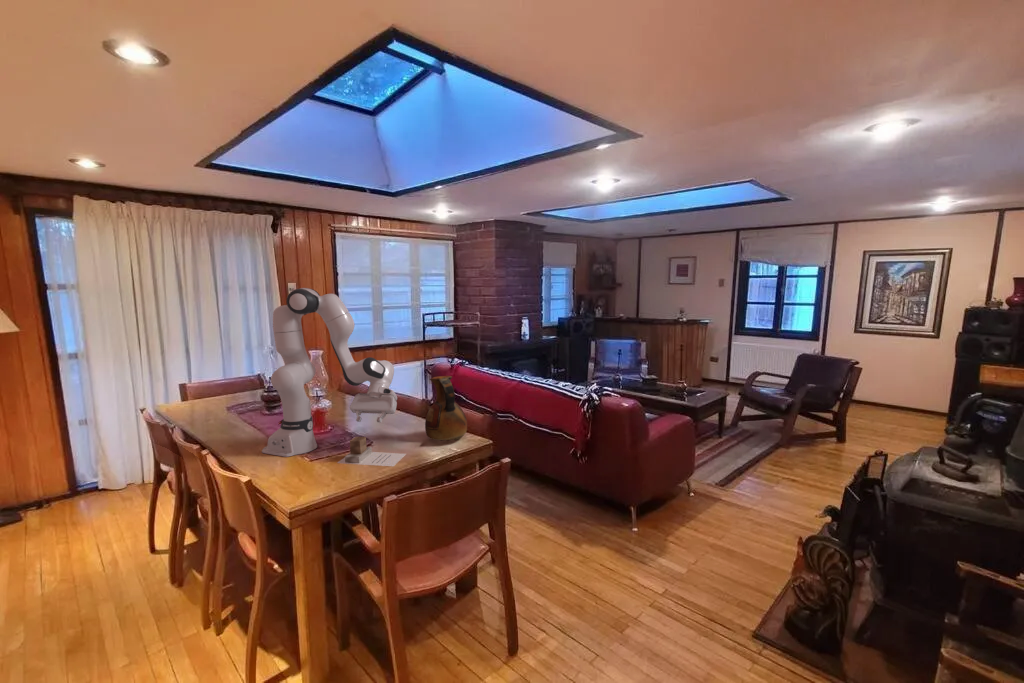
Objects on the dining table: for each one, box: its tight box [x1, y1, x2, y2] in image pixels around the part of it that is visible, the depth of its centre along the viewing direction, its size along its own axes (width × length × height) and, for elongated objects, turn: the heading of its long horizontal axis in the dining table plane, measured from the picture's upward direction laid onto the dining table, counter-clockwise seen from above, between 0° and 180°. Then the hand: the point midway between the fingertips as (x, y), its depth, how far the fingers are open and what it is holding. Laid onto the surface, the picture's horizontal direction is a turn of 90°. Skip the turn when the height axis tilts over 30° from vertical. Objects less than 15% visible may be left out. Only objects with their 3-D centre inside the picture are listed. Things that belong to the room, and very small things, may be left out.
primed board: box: [337, 451, 407, 467], centre depth 182 cm, size 24×13×2 cm, turn 81°
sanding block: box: [344, 436, 373, 463], centre depth 182 cm, size 6×11×8 cm, turn 171°
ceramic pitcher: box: [424, 375, 468, 441], centre depth 207 cm, size 20×20×30 cm
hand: (368, 421), depth 190 cm, fingers open, 8 cm apart
